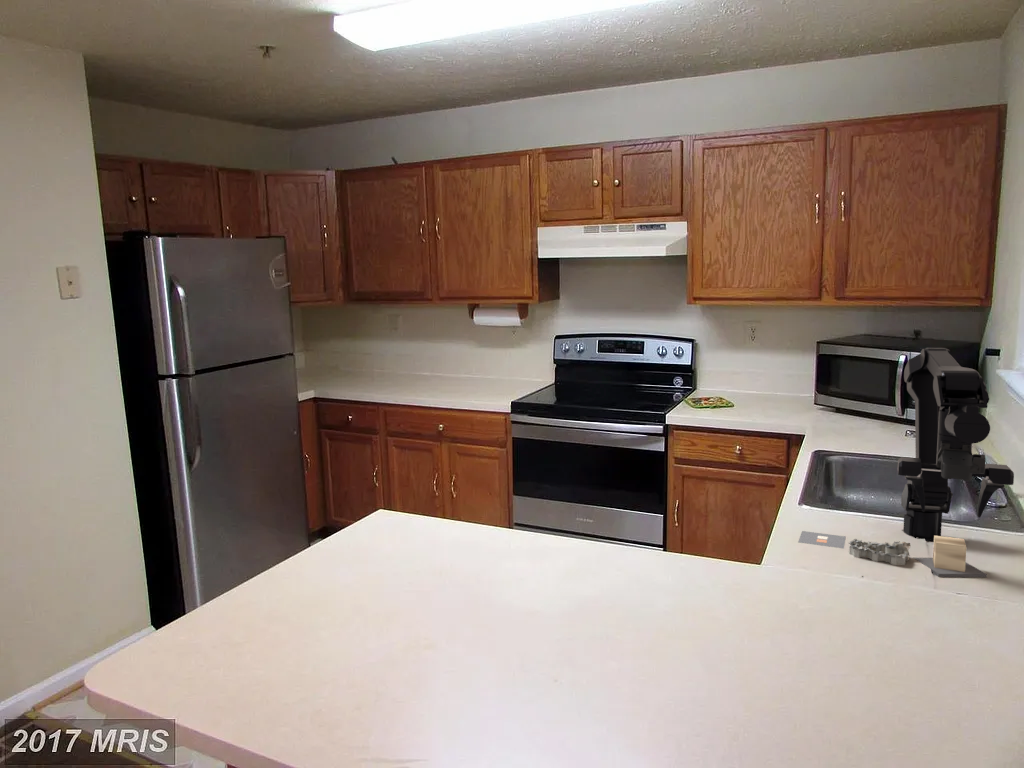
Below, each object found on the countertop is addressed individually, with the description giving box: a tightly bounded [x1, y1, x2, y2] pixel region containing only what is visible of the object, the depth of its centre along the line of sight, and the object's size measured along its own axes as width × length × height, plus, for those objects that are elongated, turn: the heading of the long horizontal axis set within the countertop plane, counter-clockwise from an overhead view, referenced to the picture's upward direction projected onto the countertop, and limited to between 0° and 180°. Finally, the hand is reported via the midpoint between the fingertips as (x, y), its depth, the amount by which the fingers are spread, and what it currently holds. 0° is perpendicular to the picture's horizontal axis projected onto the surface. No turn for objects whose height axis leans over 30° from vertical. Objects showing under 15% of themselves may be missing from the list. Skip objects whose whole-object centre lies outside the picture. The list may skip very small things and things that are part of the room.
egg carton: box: [848, 538, 911, 566], centre depth 142 cm, size 11×8×4 cm
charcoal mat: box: [913, 557, 988, 578], centre depth 137 cm, size 9×9×1 cm
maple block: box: [932, 535, 967, 572], centre depth 137 cm, size 5×5×5 cm
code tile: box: [797, 530, 847, 549], centre depth 153 cm, size 9×9×1 cm
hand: (950, 513), depth 136 cm, fingers open, 9 cm apart
